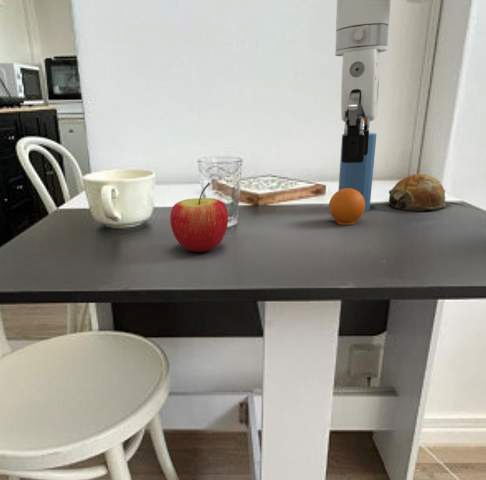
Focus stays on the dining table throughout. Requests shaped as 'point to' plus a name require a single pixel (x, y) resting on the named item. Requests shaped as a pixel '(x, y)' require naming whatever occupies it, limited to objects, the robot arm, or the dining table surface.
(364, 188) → the bottle
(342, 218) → the orange
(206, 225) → the apple
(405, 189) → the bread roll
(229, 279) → the dining table surface
